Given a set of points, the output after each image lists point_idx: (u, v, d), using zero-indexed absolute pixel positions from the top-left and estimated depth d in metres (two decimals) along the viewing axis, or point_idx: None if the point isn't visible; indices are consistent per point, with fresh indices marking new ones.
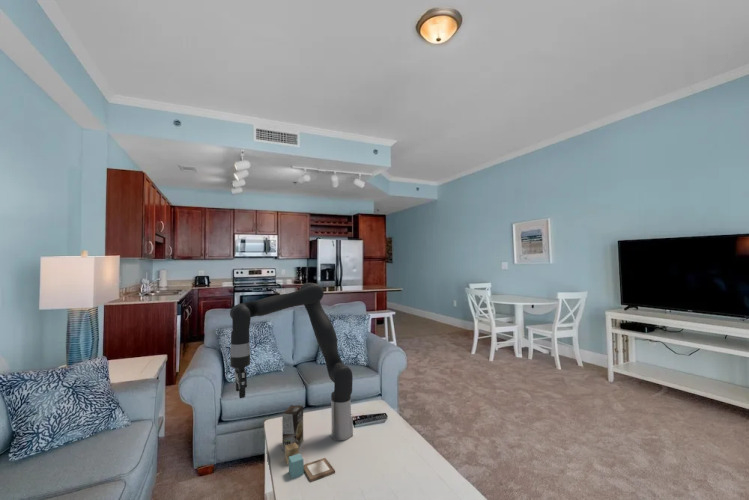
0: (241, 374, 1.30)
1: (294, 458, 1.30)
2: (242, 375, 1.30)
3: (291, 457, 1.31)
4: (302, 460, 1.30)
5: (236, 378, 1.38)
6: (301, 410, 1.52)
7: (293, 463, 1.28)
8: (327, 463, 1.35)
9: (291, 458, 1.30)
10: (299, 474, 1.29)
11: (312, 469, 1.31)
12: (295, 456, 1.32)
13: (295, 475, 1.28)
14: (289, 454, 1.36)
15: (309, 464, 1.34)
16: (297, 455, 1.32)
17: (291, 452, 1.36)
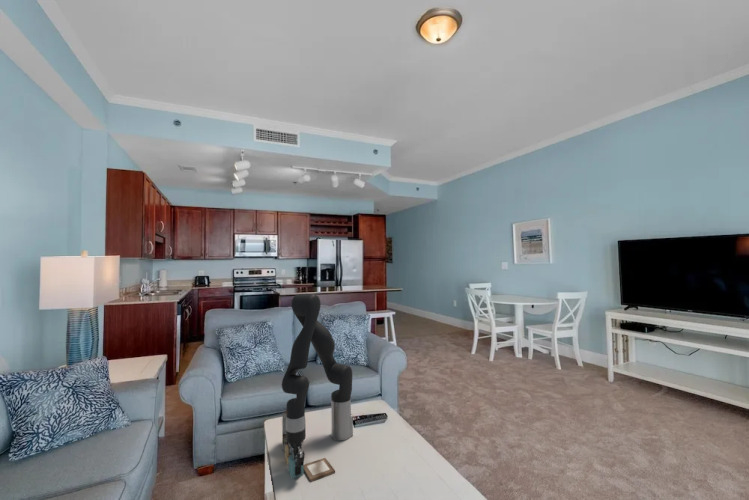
0: (299, 455, 1.25)
1: None
2: (300, 456, 1.25)
3: (291, 457, 1.31)
4: None
5: (291, 454, 1.32)
6: None
7: (293, 463, 1.28)
8: (327, 463, 1.35)
9: (291, 458, 1.30)
10: None
11: (312, 469, 1.31)
12: (295, 456, 1.32)
13: (295, 475, 1.28)
14: None
15: (309, 464, 1.34)
16: None
17: None
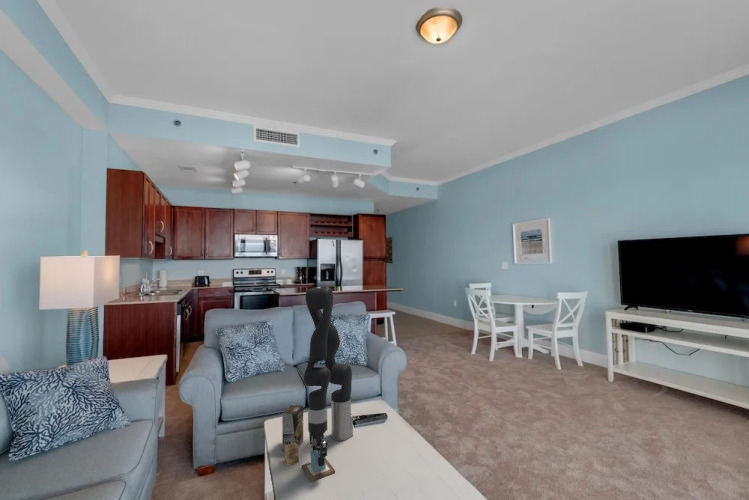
0: (322, 444, 1.26)
1: (316, 452, 1.32)
2: (323, 445, 1.26)
3: (313, 451, 1.32)
4: None
5: (313, 444, 1.34)
6: (301, 410, 1.52)
7: (315, 457, 1.29)
8: (327, 463, 1.35)
9: (313, 452, 1.32)
10: (322, 468, 1.30)
11: (312, 469, 1.31)
12: (316, 450, 1.33)
13: (317, 469, 1.29)
14: (289, 454, 1.36)
15: (309, 464, 1.34)
16: None
17: (291, 452, 1.36)
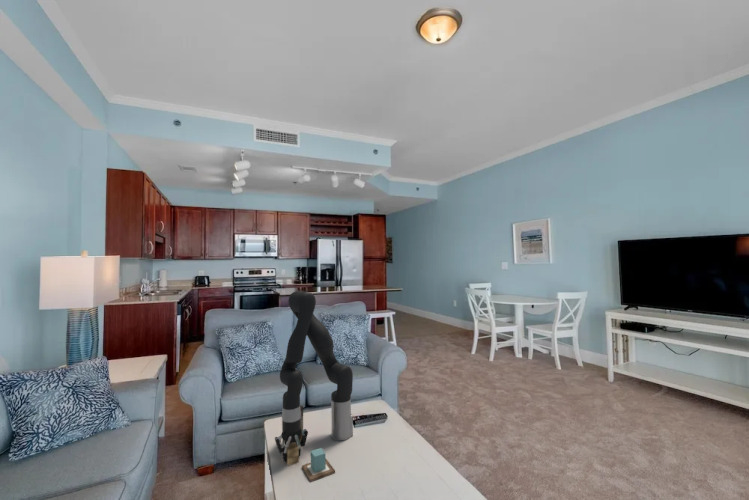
0: (275, 439, 1.36)
1: (316, 452, 1.32)
2: (275, 440, 1.36)
3: (313, 451, 1.32)
4: (324, 454, 1.31)
5: (295, 441, 1.41)
6: (301, 410, 1.52)
7: (315, 457, 1.29)
8: (327, 463, 1.35)
9: (313, 452, 1.32)
10: (322, 468, 1.30)
11: (312, 469, 1.31)
12: (316, 450, 1.33)
13: (317, 469, 1.29)
14: (289, 454, 1.36)
15: (309, 464, 1.34)
16: (318, 449, 1.34)
17: (291, 452, 1.36)
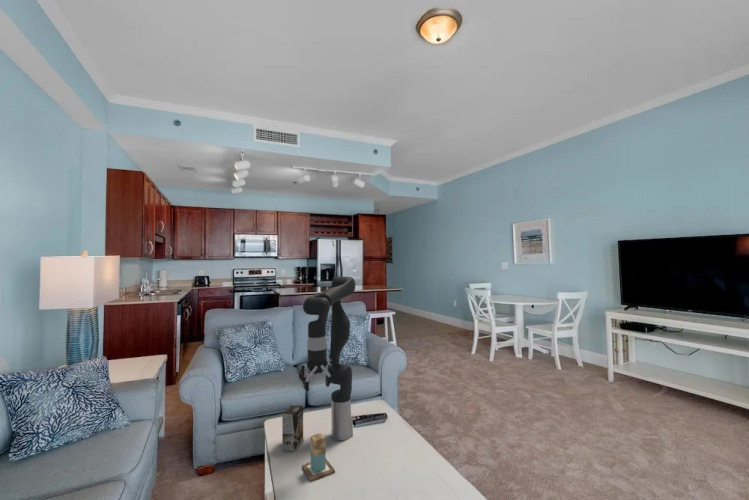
0: (300, 365, 1.30)
1: None
2: (300, 367, 1.30)
3: None
4: (324, 454, 1.31)
5: None
6: (301, 410, 1.52)
7: (315, 457, 1.29)
8: (327, 463, 1.35)
9: None
10: (322, 468, 1.30)
11: (312, 469, 1.31)
12: None
13: (317, 469, 1.29)
14: (316, 445, 1.29)
15: (309, 464, 1.34)
16: None
17: (318, 443, 1.30)
